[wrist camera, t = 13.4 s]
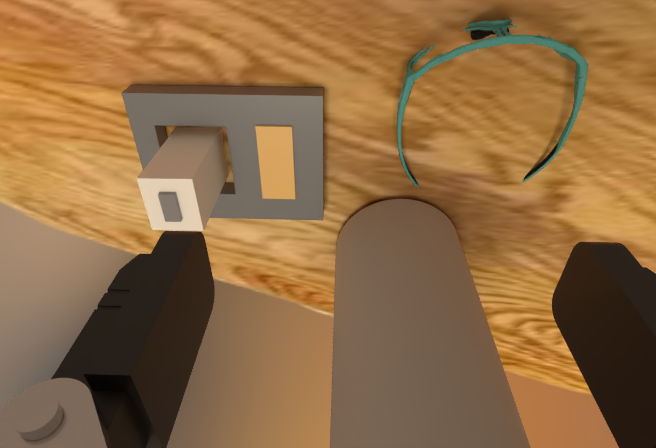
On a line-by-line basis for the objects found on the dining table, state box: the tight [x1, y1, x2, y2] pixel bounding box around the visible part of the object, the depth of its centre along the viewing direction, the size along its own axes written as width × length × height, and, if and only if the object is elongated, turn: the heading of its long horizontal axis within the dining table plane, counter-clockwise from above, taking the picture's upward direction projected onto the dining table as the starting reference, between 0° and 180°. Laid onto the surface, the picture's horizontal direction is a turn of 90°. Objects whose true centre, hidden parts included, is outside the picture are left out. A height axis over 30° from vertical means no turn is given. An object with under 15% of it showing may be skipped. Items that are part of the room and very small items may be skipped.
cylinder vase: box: [330, 199, 530, 448], centre depth 35 cm, size 12×12×25 cm
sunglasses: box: [397, 19, 588, 188], centre depth 35 cm, size 14×15×5 cm
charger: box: [137, 127, 229, 231], centre depth 36 cm, size 4×5×9 cm
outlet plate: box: [122, 85, 324, 220], centre depth 38 cm, size 16×12×2 cm
